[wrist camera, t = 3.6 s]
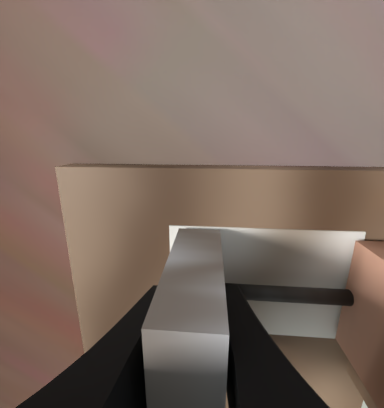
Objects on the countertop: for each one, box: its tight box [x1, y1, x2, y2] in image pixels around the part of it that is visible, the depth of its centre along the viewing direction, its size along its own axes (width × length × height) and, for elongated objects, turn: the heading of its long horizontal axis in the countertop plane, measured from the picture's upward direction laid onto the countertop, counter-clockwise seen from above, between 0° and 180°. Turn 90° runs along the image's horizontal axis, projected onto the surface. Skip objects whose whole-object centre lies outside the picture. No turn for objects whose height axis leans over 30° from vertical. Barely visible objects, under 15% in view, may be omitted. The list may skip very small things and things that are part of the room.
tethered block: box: [141, 228, 384, 408], centre depth 7 cm, size 11×5×5 cm, turn 90°
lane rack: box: [55, 164, 384, 408], centre depth 10 cm, size 19×17×4 cm
